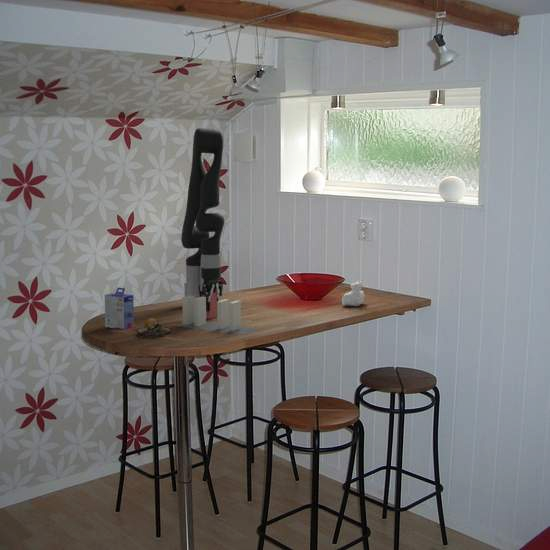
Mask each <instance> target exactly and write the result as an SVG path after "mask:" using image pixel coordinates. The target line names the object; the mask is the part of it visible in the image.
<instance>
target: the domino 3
mask: <svg viewBox="0 0 550 550" xmlns="http://www.w3.org/2000/svg"><path fill="white" fill-rule="evenodd" d="M229 303H230V299H227V298H224V299H221V300H218V301H217V316H216V318H217V320H216V321H217V322H216V323H217V329H221V330H222V329H225V328H227V327H229Z"/></svg>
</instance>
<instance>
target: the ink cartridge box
mask: <svg viewBox="0 0 550 550" xmlns="http://www.w3.org/2000/svg"><path fill="white" fill-rule="evenodd" d="M125 290H126V287H117V288H116V291H115V292H112V293H107V294H104V327H105V328H108V327H109V328H110V329H122V330H126V329H129V328H133V327H135V310H134V309H135V308H134V304H135V301H134V295H133V294H127V293H126V294H125Z"/></svg>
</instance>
